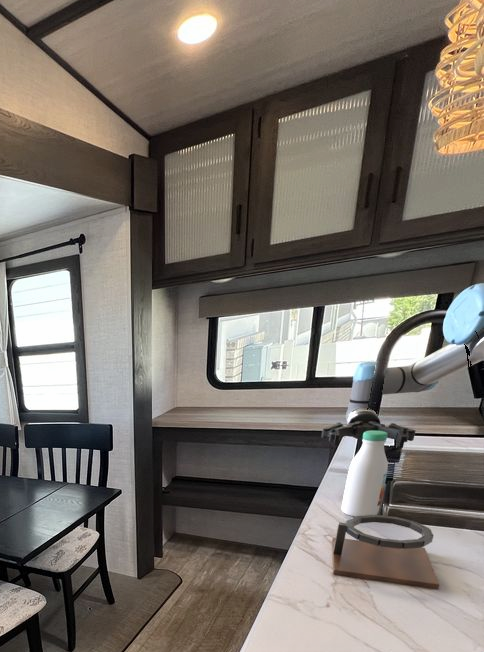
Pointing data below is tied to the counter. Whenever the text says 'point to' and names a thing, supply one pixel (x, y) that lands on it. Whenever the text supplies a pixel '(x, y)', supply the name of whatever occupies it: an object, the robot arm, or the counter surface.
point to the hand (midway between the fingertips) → (368, 441)
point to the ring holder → (384, 554)
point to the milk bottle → (366, 477)
